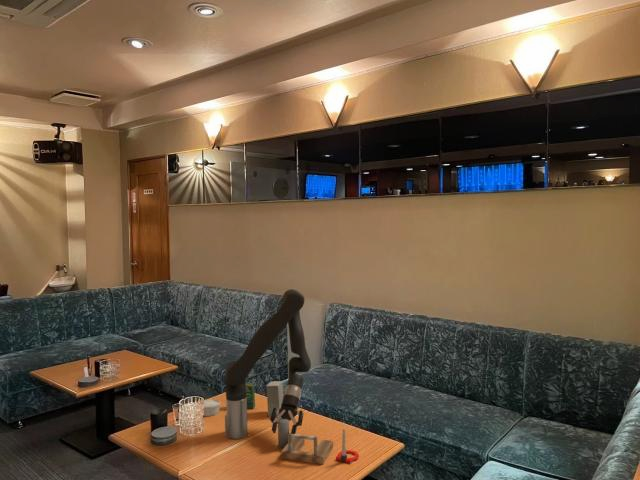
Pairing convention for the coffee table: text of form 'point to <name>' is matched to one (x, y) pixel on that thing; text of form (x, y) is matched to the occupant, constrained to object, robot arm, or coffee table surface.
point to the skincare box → (274, 396)
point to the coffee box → (250, 395)
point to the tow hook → (342, 454)
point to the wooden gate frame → (317, 456)
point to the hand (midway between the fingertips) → (283, 433)
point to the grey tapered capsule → (283, 433)
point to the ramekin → (211, 407)
